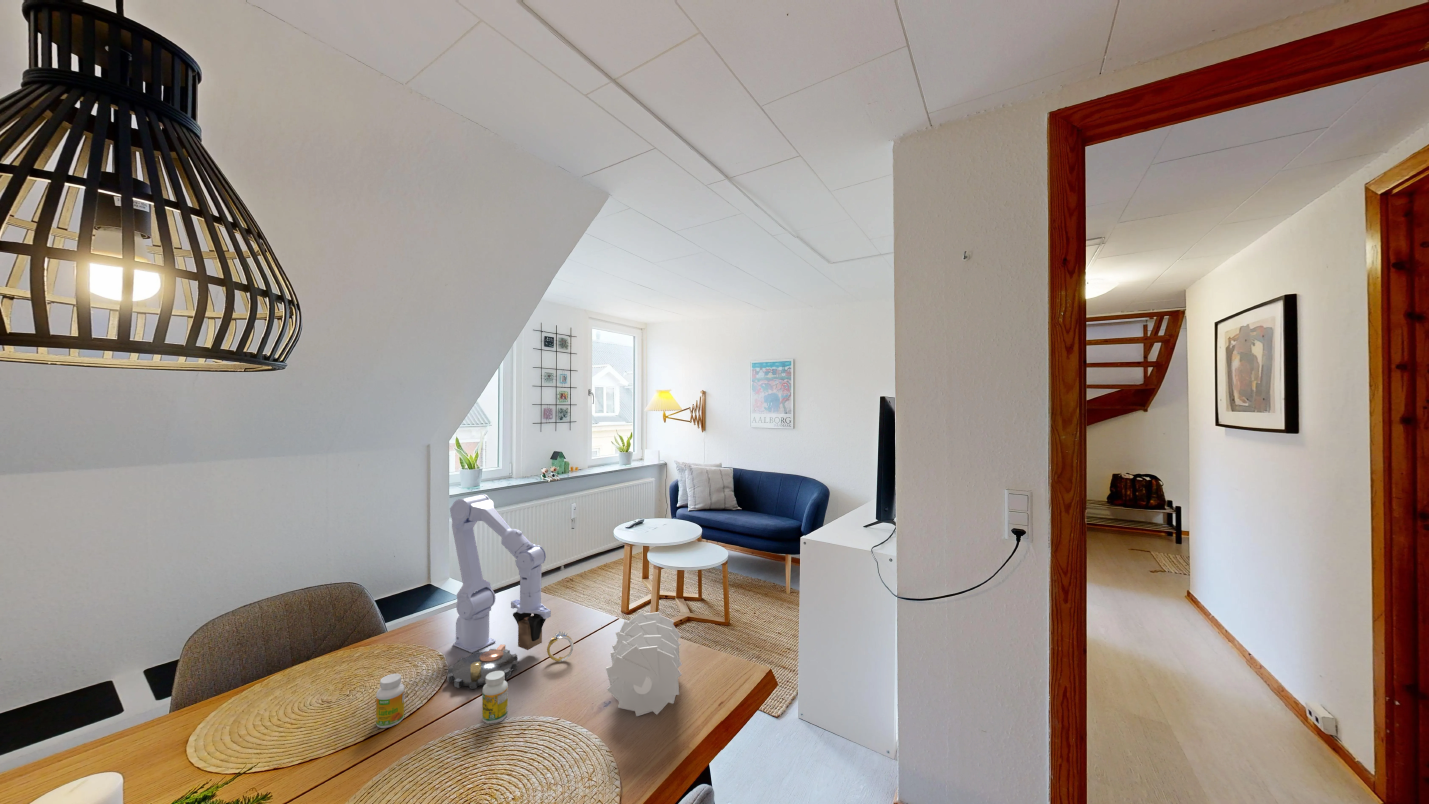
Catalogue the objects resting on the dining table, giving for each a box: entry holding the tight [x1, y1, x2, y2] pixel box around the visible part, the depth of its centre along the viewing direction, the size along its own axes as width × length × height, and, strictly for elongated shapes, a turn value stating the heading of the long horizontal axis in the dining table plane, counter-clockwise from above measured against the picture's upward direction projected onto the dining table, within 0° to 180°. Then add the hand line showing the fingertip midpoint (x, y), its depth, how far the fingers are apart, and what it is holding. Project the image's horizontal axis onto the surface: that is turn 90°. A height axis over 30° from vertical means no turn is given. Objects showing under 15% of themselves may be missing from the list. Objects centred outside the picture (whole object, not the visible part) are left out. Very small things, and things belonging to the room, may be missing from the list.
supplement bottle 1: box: [375, 673, 405, 729], centre depth 112 cm, size 5×5×10 cm
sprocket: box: [446, 648, 519, 690], centre depth 132 cm, size 17×17×5 cm
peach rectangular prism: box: [495, 644, 506, 651], centre depth 142 cm, size 3×1×2 cm, turn 0°
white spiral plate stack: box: [605, 611, 683, 717], centre depth 123 cm, size 18×18×25 cm
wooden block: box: [517, 614, 543, 651], centre depth 142 cm, size 4×5×7 cm
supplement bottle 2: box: [481, 671, 509, 724], centre depth 114 cm, size 5×5×10 cm
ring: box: [546, 630, 575, 663], centre depth 138 cm, size 7×3×8 cm, turn 98°
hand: (530, 637), depth 142 cm, fingers closed on wooden block, 4 cm apart
